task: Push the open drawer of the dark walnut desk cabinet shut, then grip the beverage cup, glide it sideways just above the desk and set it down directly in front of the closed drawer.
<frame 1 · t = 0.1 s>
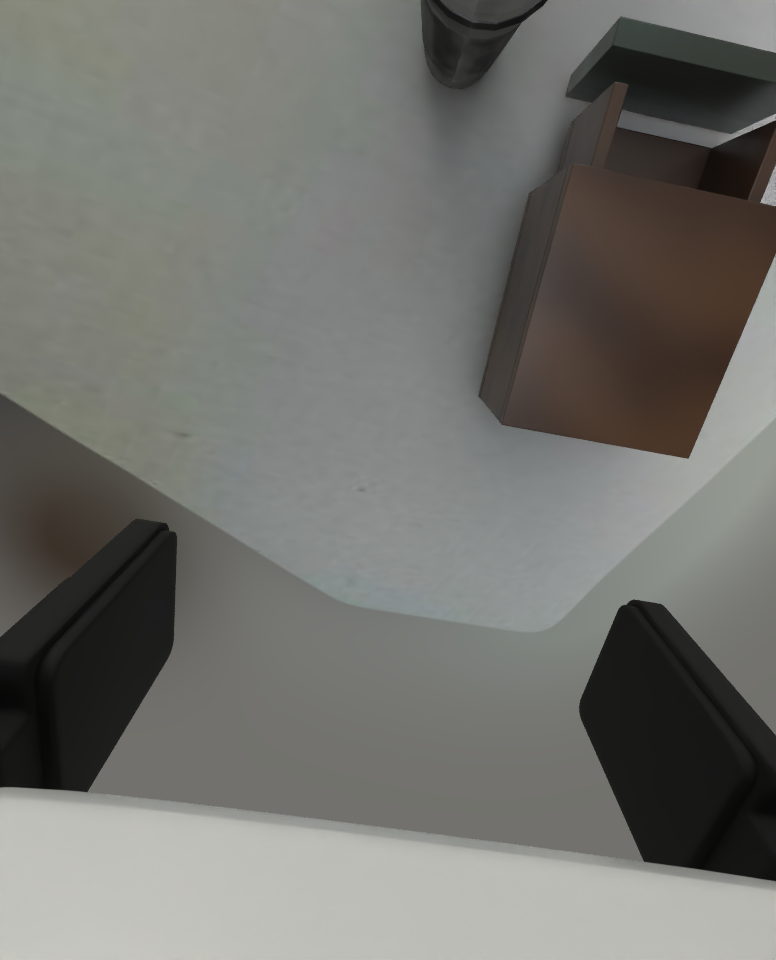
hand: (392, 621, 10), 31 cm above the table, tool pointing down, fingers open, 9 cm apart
drawer: (648, 190, 31), point 5 cm above the table, slide at 5.5 cm
beverage cup: (459, 47, 32), on the table
cabinet: (581, 317, 38), on the table
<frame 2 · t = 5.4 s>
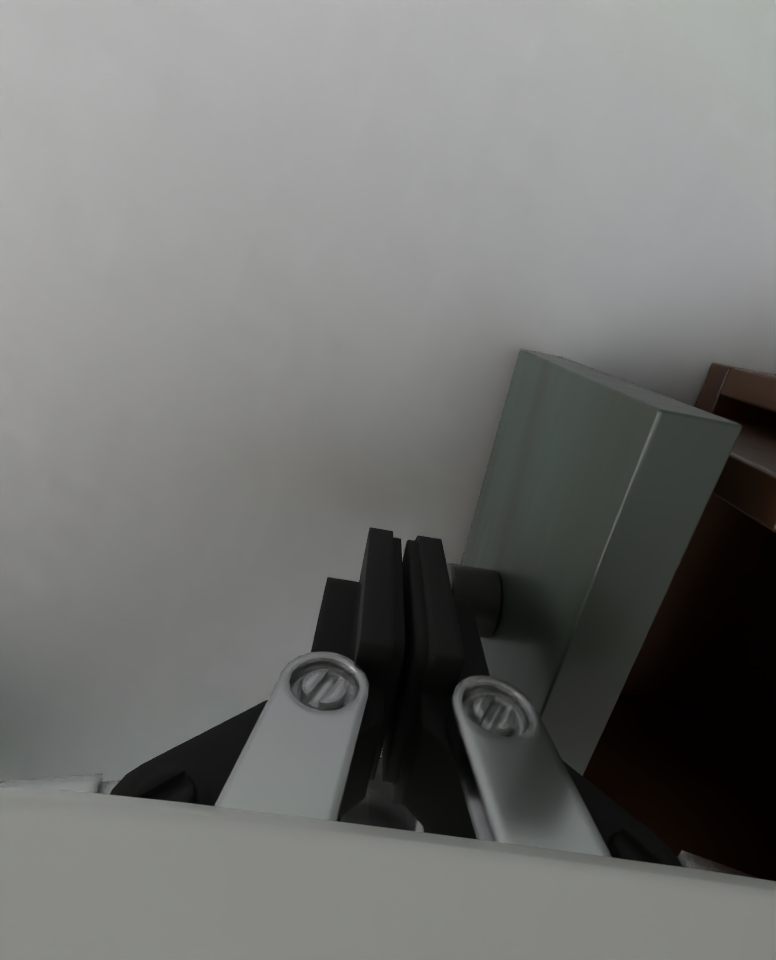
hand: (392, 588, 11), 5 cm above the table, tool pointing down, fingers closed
drawer: (730, 642, 12), point 5 cm above the table, slide at 4.6 cm, touching gripper
beverage cup: (358, 788, 21), on the table
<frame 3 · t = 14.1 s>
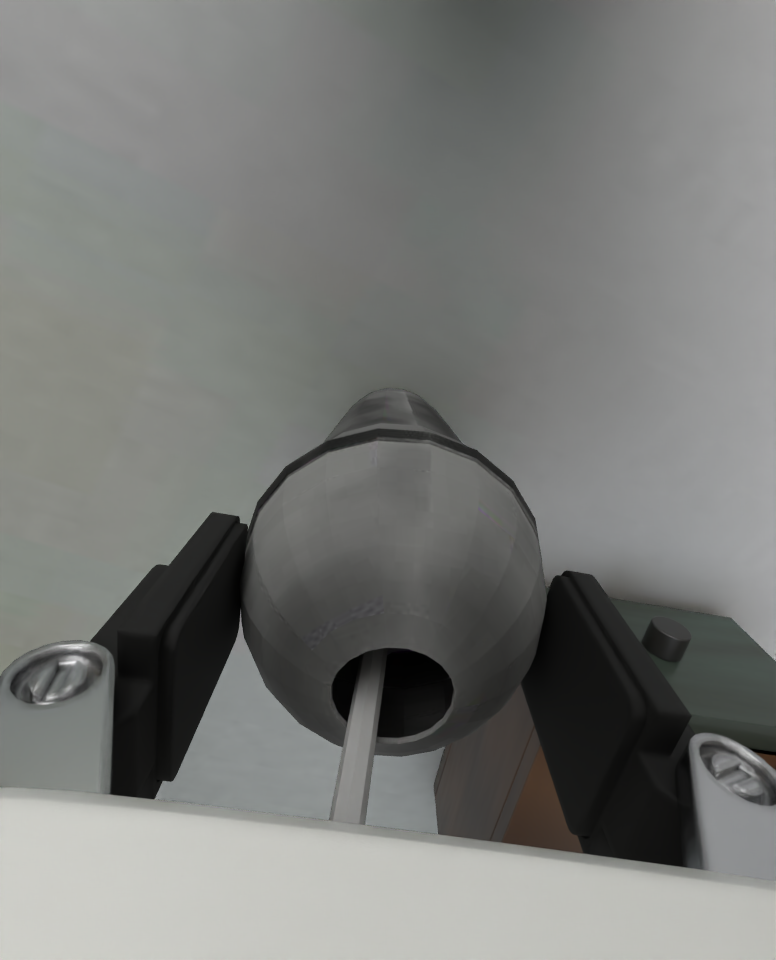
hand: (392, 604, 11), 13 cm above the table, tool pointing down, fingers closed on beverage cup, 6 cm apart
drawer: (612, 751, 24), point 5 cm above the table, slide at 0.0 cm, touching cabinet
beverage cup: (392, 435, 23), on the table, touching gripper
cabinet: (566, 712, 29), on the table
when the fingers open (13 cm above the table, at t = 21.0 s): beverage cup stays where it is, on the table.
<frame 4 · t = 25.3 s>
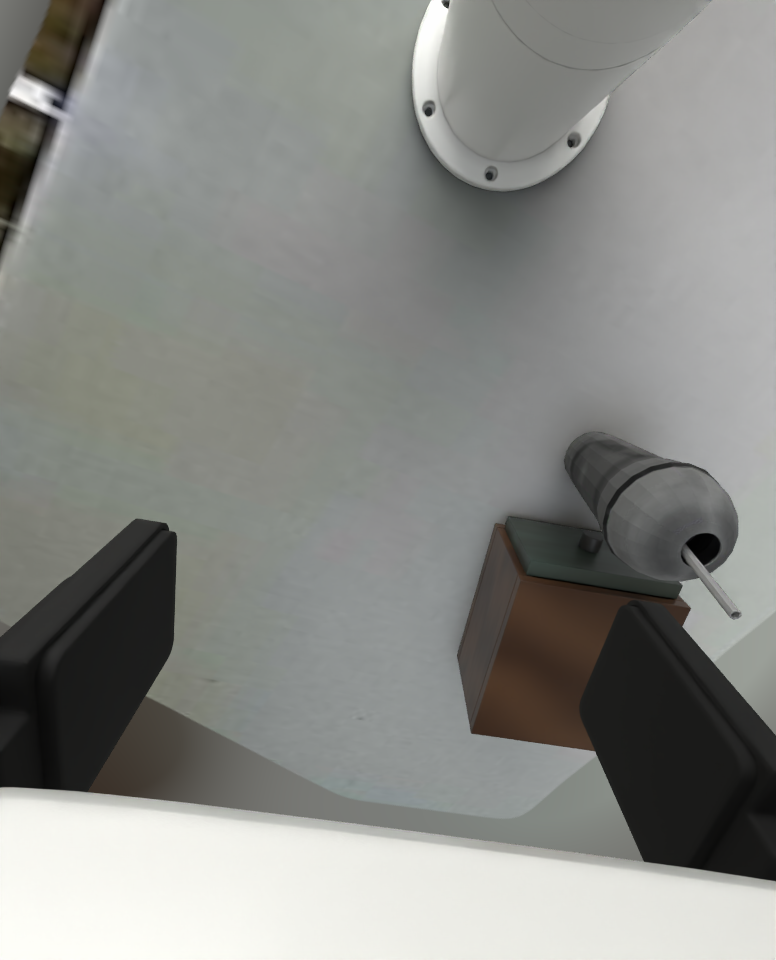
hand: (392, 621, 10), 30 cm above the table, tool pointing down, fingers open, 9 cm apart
drawer: (564, 612, 41), point 5 cm above the table, slide at 0.0 cm, touching cabinet
beverage cup: (590, 457, 41), on the table
cabinet: (540, 603, 46), on the table
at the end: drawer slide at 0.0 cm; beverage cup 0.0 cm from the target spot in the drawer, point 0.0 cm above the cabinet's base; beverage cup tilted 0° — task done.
